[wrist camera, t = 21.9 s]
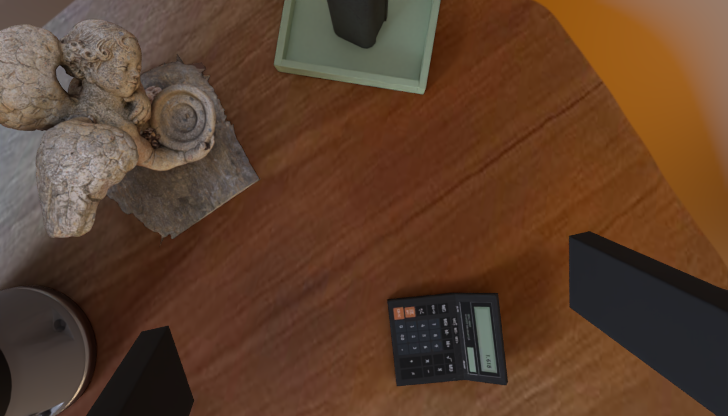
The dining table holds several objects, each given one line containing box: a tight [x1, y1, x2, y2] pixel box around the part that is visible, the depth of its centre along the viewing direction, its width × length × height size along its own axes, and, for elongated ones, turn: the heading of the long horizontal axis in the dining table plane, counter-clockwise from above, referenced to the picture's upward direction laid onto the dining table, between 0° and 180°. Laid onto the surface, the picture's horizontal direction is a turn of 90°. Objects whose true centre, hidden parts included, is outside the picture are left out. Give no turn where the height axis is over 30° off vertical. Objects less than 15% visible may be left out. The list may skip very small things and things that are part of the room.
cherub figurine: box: [0, 19, 260, 246], centre depth 36 cm, size 18×18×18 cm
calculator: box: [387, 293, 508, 386], centre depth 42 cm, size 9×12×3 cm
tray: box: [274, 0, 441, 94], centre depth 43 cm, size 17×14×2 cm
